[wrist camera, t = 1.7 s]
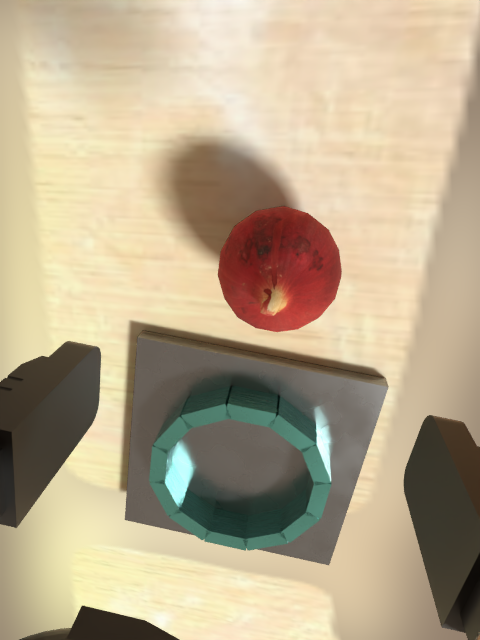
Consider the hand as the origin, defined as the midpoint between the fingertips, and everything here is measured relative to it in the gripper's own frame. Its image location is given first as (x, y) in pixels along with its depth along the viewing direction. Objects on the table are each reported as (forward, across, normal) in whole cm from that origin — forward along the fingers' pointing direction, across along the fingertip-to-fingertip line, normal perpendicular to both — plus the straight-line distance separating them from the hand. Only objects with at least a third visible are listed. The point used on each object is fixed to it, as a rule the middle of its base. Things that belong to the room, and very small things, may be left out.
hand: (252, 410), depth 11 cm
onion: (+16, 0, 0) cm, 16 cm away
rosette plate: (+15, 0, +14) cm, 21 cm away
